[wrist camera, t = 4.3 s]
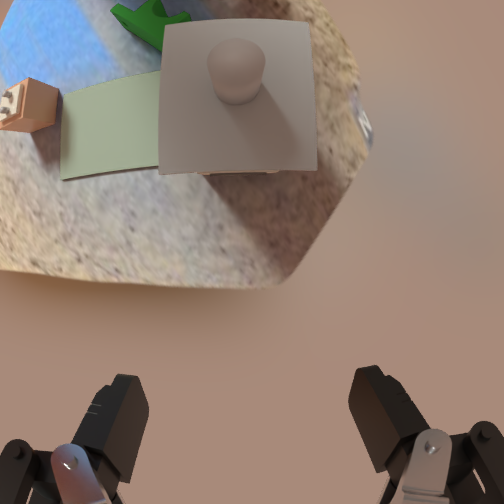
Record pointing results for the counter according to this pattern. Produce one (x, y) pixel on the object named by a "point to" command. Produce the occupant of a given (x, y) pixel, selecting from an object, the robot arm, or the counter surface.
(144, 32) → the pipe clamp
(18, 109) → the block
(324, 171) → the counter surface
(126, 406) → the robot arm
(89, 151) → the pad
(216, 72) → the box
